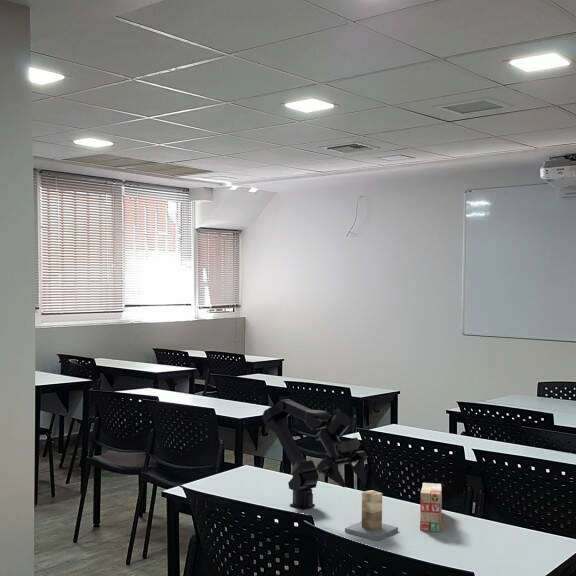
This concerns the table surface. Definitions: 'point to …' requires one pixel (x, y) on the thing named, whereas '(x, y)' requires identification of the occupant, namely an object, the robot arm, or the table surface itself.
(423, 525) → the stack of blocks
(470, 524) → the table surface
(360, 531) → the plate
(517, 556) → the table surface
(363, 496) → the tower
